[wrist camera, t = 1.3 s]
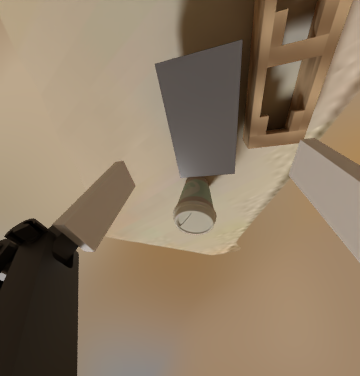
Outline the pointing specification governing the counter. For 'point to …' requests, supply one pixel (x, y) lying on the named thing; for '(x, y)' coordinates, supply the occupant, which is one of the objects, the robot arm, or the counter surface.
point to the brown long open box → (281, 54)
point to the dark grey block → (203, 108)
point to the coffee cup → (195, 208)
